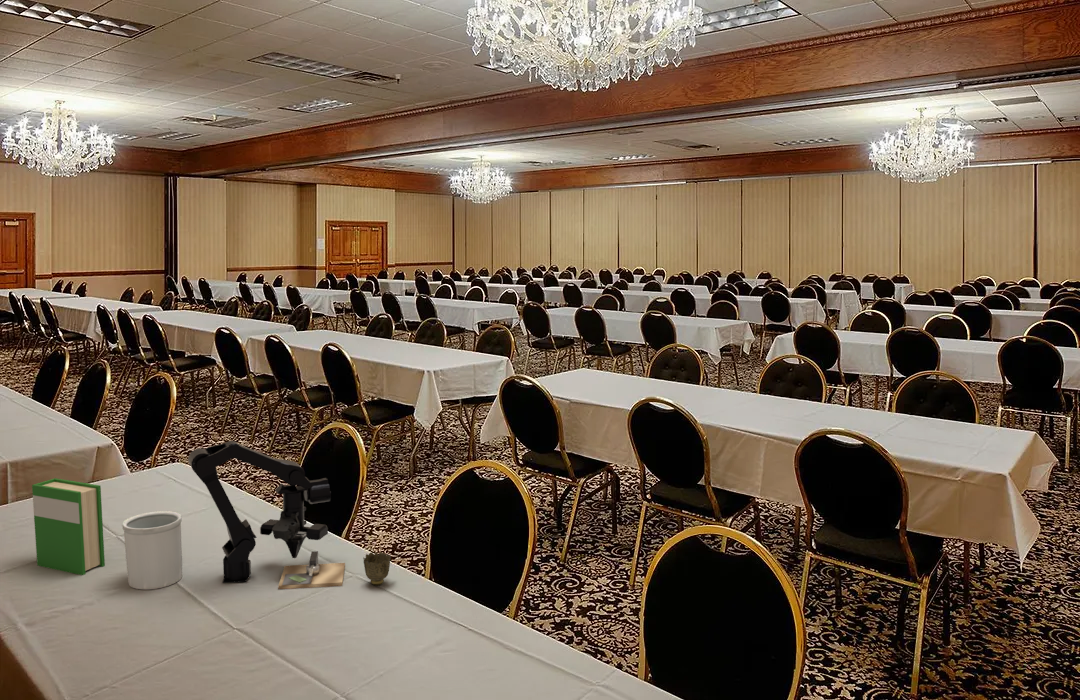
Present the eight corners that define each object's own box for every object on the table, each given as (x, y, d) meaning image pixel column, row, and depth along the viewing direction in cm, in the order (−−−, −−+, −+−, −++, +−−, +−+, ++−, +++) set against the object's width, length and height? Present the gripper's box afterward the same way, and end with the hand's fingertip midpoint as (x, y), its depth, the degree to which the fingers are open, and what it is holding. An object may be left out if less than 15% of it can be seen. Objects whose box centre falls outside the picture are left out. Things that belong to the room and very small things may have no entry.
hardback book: (104, 565, 240) (100, 485, 236) (82, 575, 233) (77, 492, 229) (60, 556, 246) (55, 478, 242) (37, 565, 239) (32, 485, 236)
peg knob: (317, 581, 228) (317, 569, 227) (303, 582, 227) (303, 570, 227) (321, 562, 241) (321, 551, 241) (308, 562, 241) (308, 551, 240)
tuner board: (278, 589, 226) (278, 584, 226) (284, 569, 240) (284, 564, 239) (342, 585, 229) (342, 581, 229) (345, 566, 243) (345, 561, 242)
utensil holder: (113, 583, 228) (110, 522, 225) (160, 565, 241) (158, 507, 238) (149, 595, 221) (146, 532, 218) (195, 575, 234) (193, 516, 231)
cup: (384, 590, 226) (384, 562, 225) (359, 588, 228) (359, 560, 227) (394, 580, 234) (394, 552, 232) (370, 577, 235) (369, 550, 234)
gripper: (248, 512, 232) (250, 565, 234) (309, 518, 228) (310, 571, 231) (269, 500, 243) (271, 550, 245) (328, 505, 239) (329, 557, 241)
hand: (294, 557), depth 240 cm, fingers closed
